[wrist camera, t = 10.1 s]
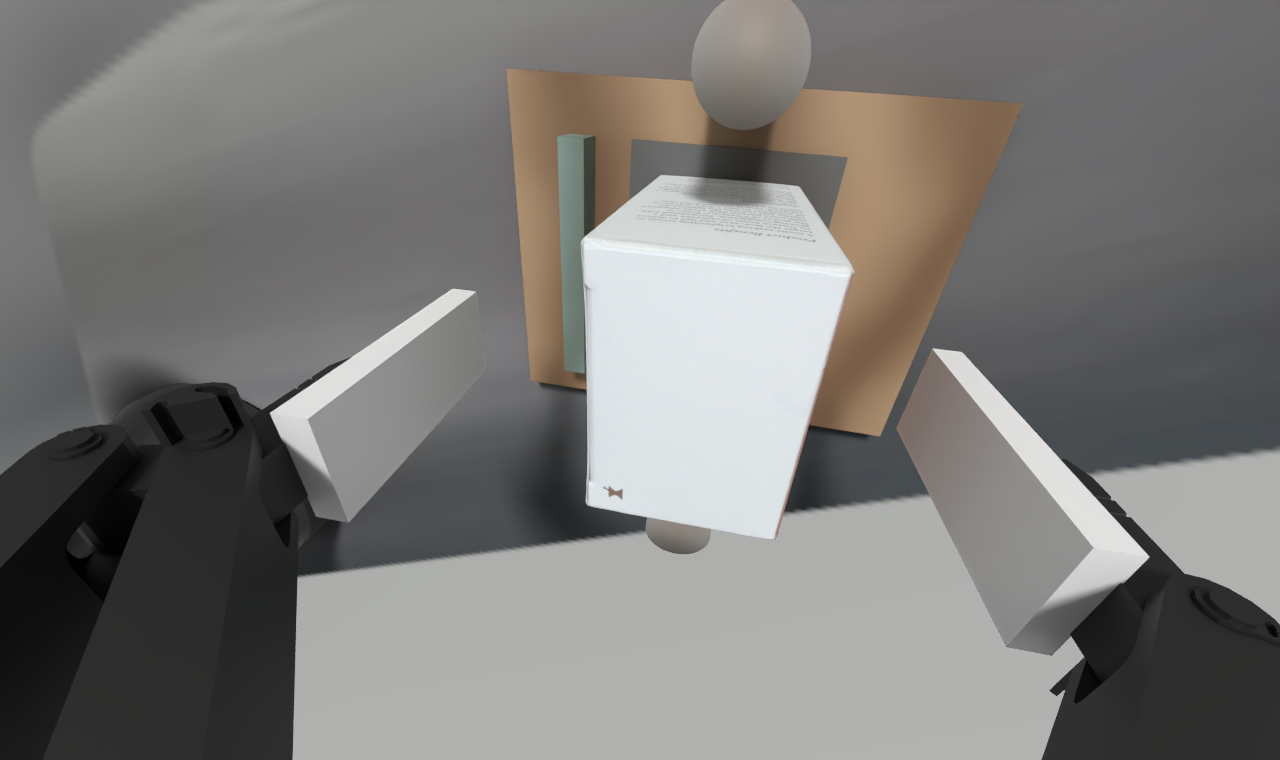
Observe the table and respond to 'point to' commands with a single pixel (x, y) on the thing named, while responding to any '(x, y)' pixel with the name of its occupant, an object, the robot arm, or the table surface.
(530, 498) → the table surface
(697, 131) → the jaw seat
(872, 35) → the table surface
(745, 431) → the small box
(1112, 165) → the table surface
